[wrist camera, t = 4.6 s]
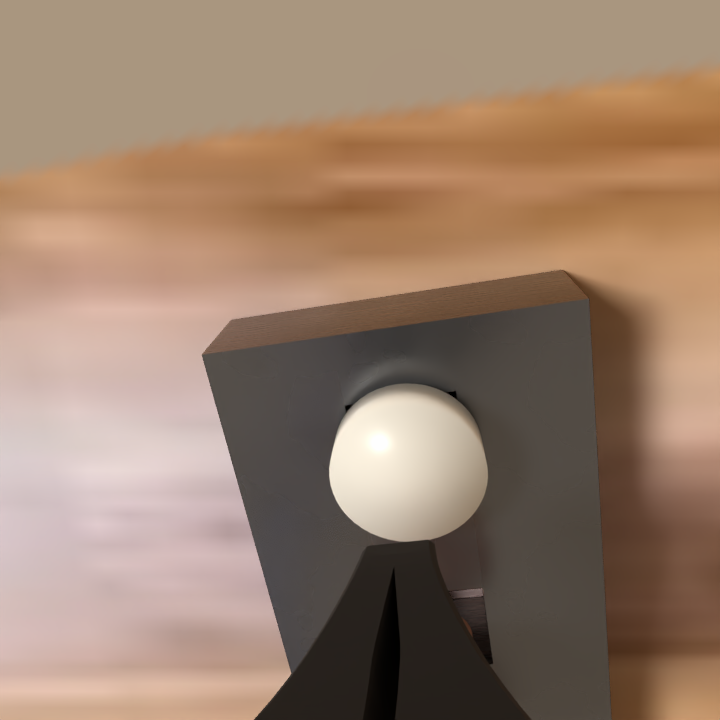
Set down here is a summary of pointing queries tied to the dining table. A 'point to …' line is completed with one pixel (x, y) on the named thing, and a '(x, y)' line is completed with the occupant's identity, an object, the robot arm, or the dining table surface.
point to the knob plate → (502, 451)
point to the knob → (408, 463)
